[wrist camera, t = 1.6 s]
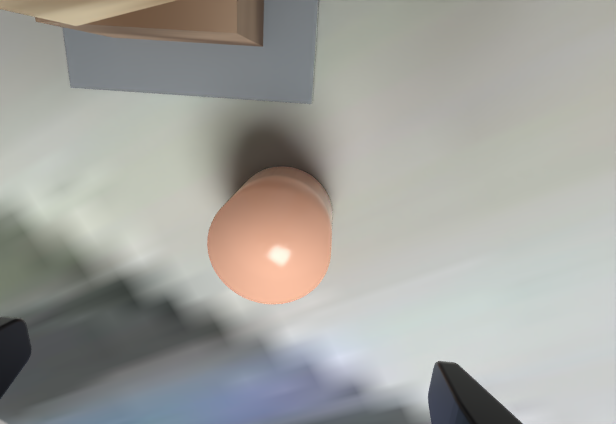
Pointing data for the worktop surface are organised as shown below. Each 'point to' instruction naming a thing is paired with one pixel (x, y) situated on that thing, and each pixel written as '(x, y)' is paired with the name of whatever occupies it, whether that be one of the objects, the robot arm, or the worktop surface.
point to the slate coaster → (206, 61)
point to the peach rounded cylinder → (273, 236)
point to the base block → (185, 22)
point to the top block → (77, 9)
